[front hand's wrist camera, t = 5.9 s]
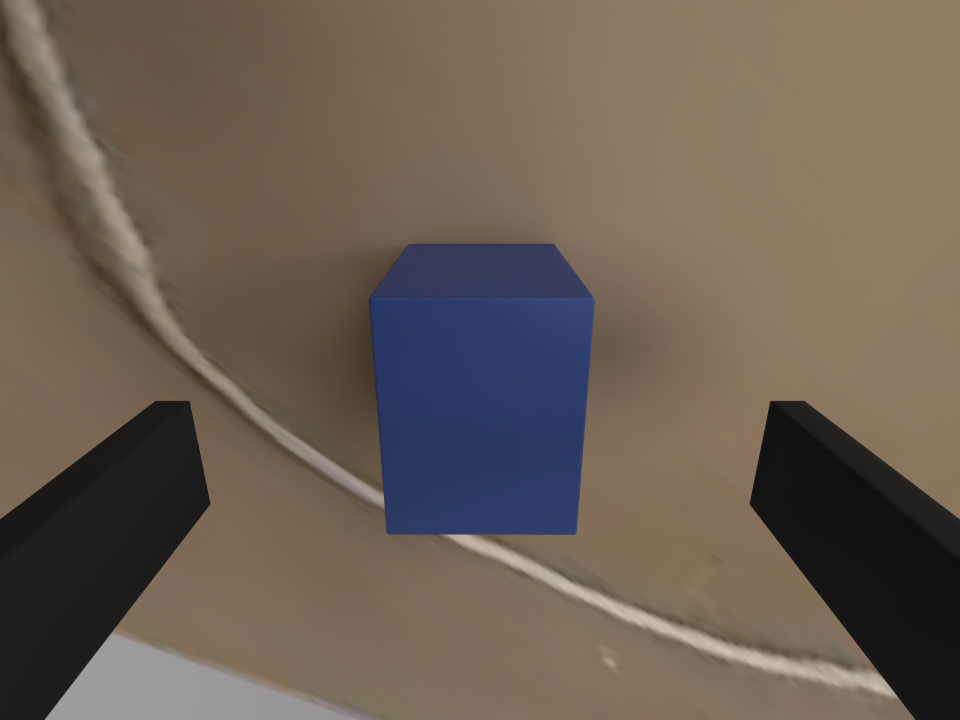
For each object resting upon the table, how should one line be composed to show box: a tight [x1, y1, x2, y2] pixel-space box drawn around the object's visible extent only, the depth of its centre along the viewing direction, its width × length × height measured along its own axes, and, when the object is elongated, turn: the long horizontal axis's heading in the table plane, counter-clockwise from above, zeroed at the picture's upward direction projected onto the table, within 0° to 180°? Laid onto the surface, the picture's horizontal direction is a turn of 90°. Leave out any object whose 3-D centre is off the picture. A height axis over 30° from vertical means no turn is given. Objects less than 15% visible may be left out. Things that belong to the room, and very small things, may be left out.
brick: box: [369, 244, 595, 535], centre depth 17 cm, size 5×6×7 cm
